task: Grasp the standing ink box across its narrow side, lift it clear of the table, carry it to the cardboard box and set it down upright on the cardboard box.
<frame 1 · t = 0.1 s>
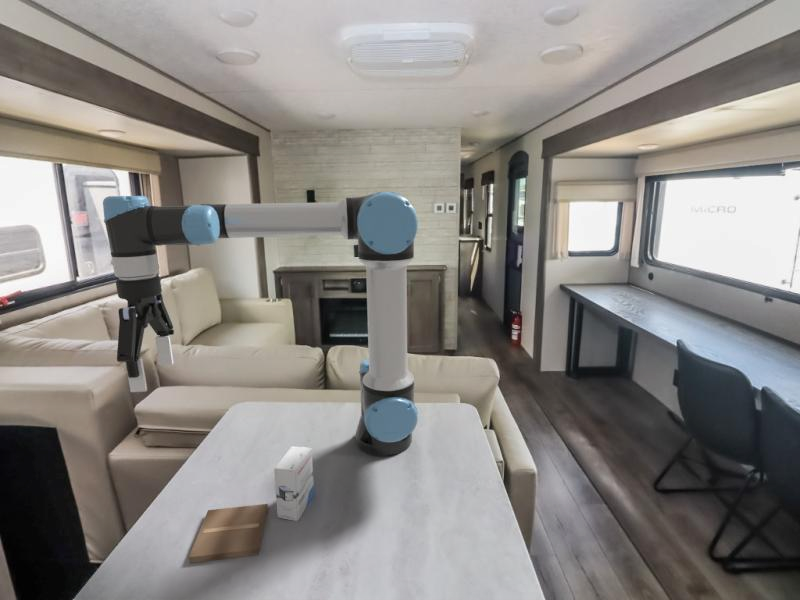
hand: (153, 376, 89), 28 cm above the table, fingers open, 13 cm apart
cardboard box: (232, 533, 84), on the table
ink box: (297, 506, 91), on the table
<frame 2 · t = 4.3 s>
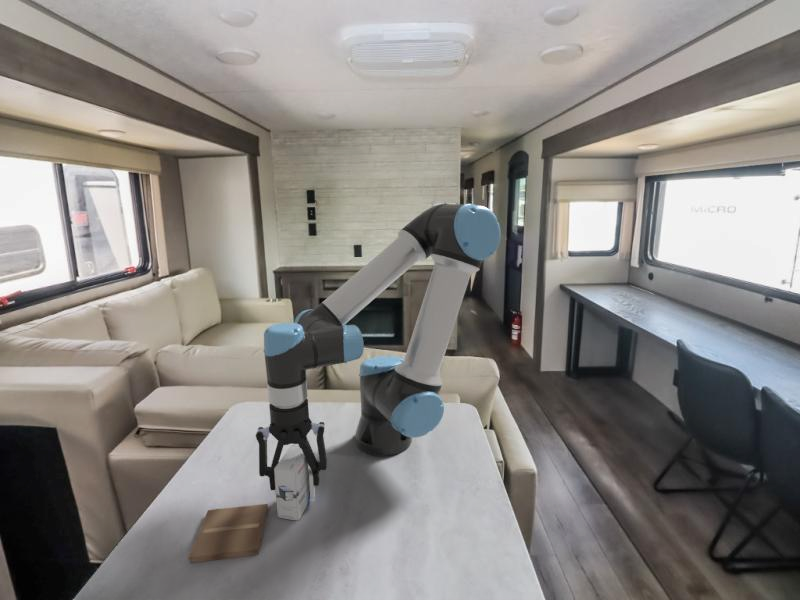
hand: (296, 499, 91), 1 cm above the table, fingers closed on ink box, 6 cm apart
ink box: (297, 506, 91), on the table, touching gripper
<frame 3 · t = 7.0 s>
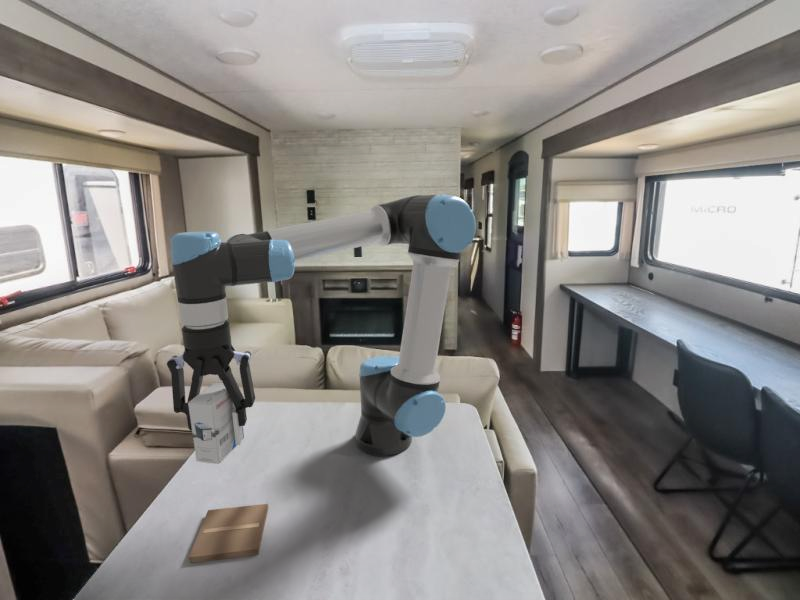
hand: (220, 442, 79), 20 cm above the table, fingers closed on ink box, 6 cm apart
ink box: (222, 450, 79), point 18 cm above the table, touching gripper
when the fingers open (4 cm above the table, at t = 10.1 s): ink box drops 1 cm, resting on cardboard box.
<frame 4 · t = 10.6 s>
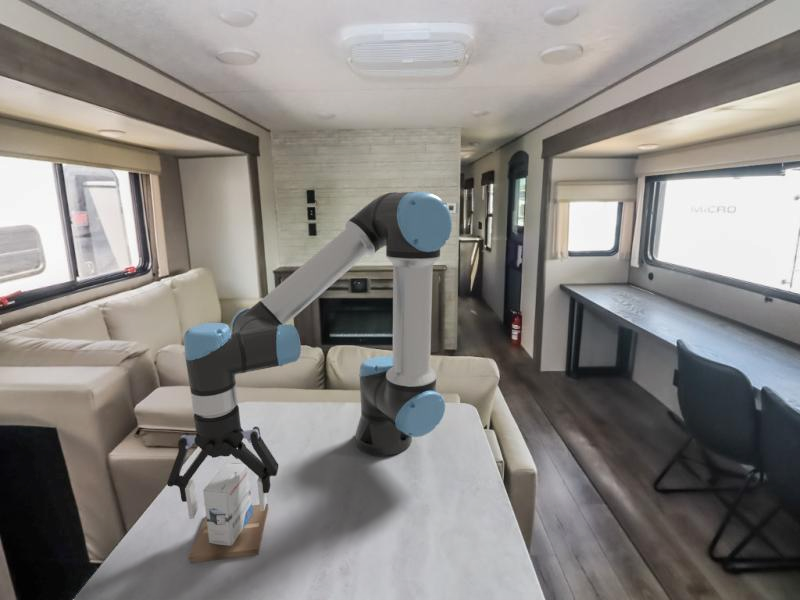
hand: (229, 510, 82), 5 cm above the table, fingers open, 12 cm apart
ink box: (232, 528, 83), point 1 cm above the table, touching cardboard box
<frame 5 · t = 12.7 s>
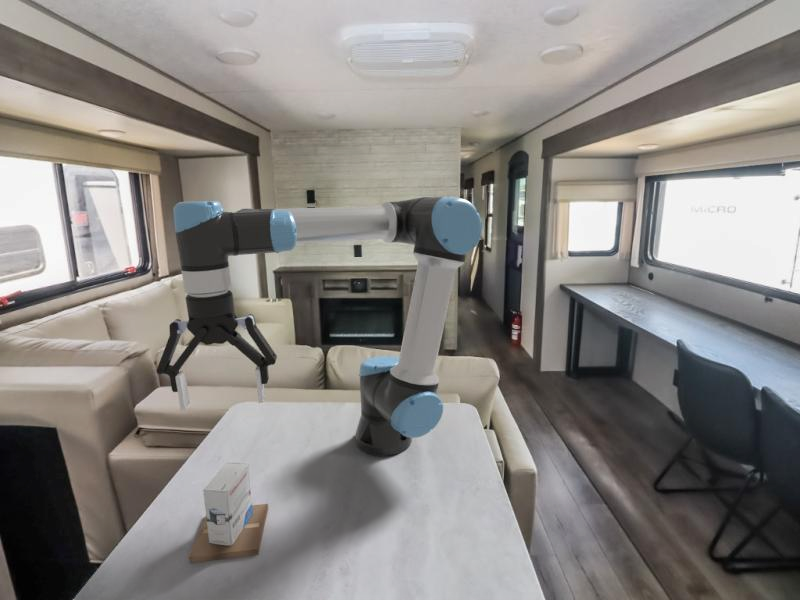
hand: (224, 403, 79), 27 cm above the table, fingers open, 13 cm apart
nothing on the table moved.
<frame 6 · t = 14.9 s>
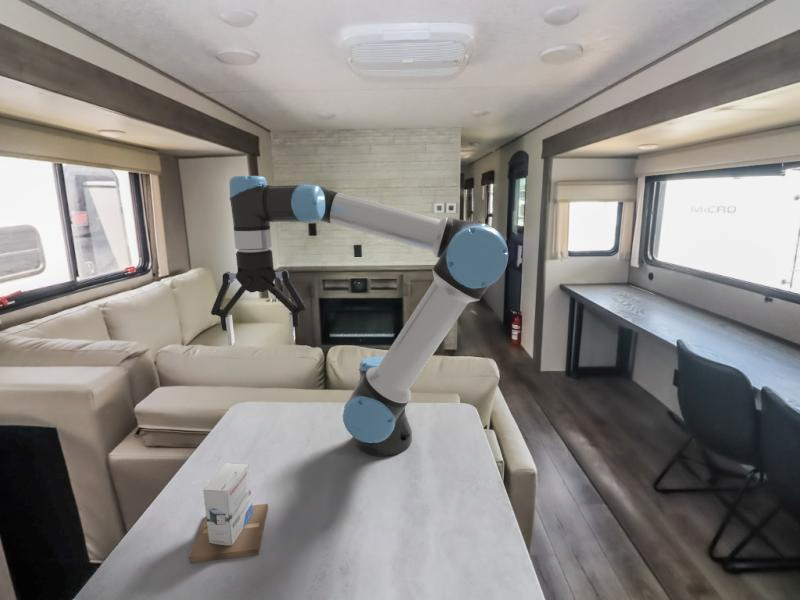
hand: (262, 342, 98), 32 cm above the table, fingers open, 13 cm apart
nothing on the table moved.
at the end: ink box inside the target area on the cardboard box (0.3 cm from its centre), point 1.1 cm above the cardboard box's base; ink box tilted 0°; the gripper is holding nothing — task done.
